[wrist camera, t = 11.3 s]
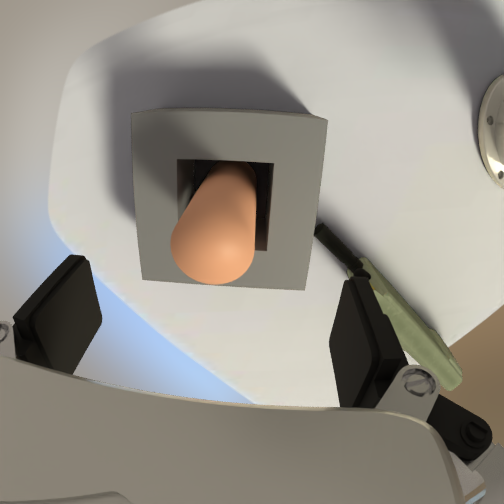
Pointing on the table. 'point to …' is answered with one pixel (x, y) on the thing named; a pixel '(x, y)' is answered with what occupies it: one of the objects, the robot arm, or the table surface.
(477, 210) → the table surface
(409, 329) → the handheld radio
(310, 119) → the socket block
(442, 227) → the table surface
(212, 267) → the peg
